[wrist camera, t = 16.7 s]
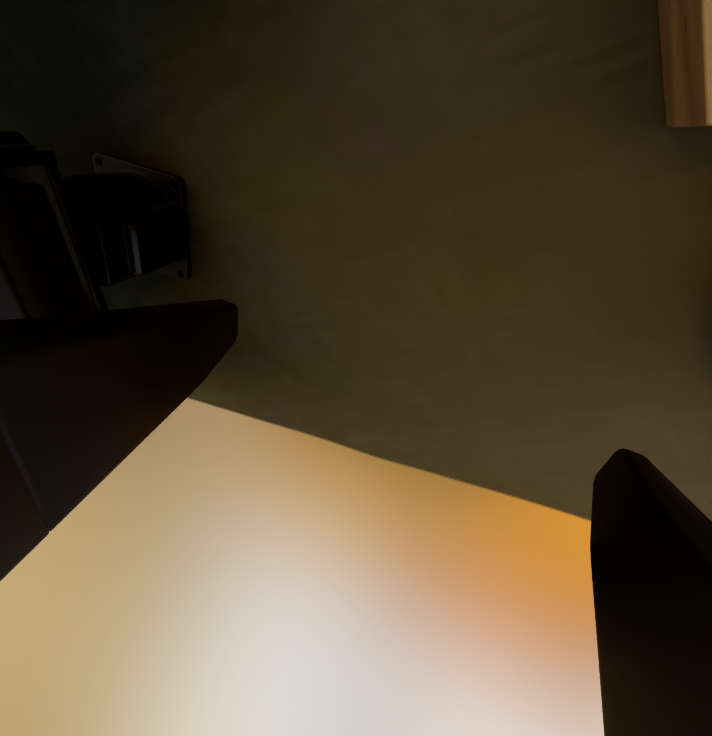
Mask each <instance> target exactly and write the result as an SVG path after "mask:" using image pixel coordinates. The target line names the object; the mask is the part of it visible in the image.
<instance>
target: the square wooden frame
mask: <svg viewBox="0 0 712 736" xmlns="http://www.w3.org/2000/svg"><path fill="white" fill-rule="evenodd" d="M657 3H658V17H659V30H660V43H661V57H662V70H663V83H664V97H665V110H666V123H667V127H668V128H671V127H702V126H711V125H712V0H657Z"/></svg>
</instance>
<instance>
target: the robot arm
mask: <svg viewBox="0 0 712 736" xmlns="http://www.w3.org/2000/svg"><path fill="white" fill-rule="evenodd" d="M56 163H58V161H57V158H56V155H55V152H54V150H37V149H36V147H35V145H31V144H30V143H29V142H28V141H27V140H26V139H25V138H24V137H23V136H22V135H21V134H20V133H19V132H0V581H1V580H2V579H3V578H4V577H5V576H6V575H7V574H8V573H9V572H10V571H11V570H12V569H13V568H14V567H15V566H16V565H17V564H18V563H19V562H20V561H21V560H22V559H23V558H24V557H25V556H26V555H27V554H28V553H29V552H30V551H32V550H33V549H34V547H36V546H37V545H38V544H39V543H40V542H41V541H42V540H43V539H44V538H45V537H46V536H47V535H48V534H49V531H51V530H52V529H54V528H55V526H56V525H58V524H59V523H60V522H61V521H62V520H63V519H64V518H65V517H66V516H67V515H68V514H69V513H70V512H71V511H72V510H73V509H74V508H75V507H76V506H77V505H78V504H79V503H80V502H81V501H82V500H83V499H84V498H85V497H86V496H87V495H88V494H89V493H90V492H91V491H92V490H93V489H94V488H95V487H96V486H97V485H98V484H99V483H100V482H102V481H103V480H104V479H105V478H106V477H107V476H108V475H109V474H110V473H111V472H112V471H113V469H115V468H116V467H117V466H118V465H119V464H120V463H121V462H122V461H123V460H124V459H125V458H126V457H127V456H128V455H129V454H130V453H131V452H132V451H133V450H134V449H135V448H136V447H137V446H138V445H139V444H140V443H141V442H142V441H143V440H144V439H145V438H146V437H147V436H148V435H149V434H150V433H151V432H152V431H154V430H155V429H156V428H157V427H158V426H159V424H161V423H162V422H163V421H164V420H165V419H166V418H167V417H168V416H169V415H170V414H171V413H172V412H173V411H174V410H175V409H176V408H177V407H178V406H179V405H180V404H181V403H182V402H183V401H184V400H185V399H186V398H187V397H188V396H189V395H190V394H191V393H192V392H193V391H194V390H195V389H196V388H197V387H198V386H199V385H200V384H201V383H202V382H203V381H204V379H205V378H206V377H207V376H208V375H209V373H210V372H211V371H212V370H213V369H214V367H215V366H216V365H217V364H218V362H219V361H220V360H221V359H222V357H223V356H224V355H225V354H226V353H227V351H228V350H229V349H230V348H231V346H232V345H233V344H234V342H235V341H236V338H237V334H238V309H237V306H236V305H235V304H233V303H230V302H227V301H225V300H221V299H218V300H208V301H198V302H188V303H177V304H167V305H157V306H146V307H136V308H126V309H115V310H109V309H108V307H107V304H106V301H105V298H104V296H103V293H102V290H101V287H102V286H107V287H108V286H111V285H114V284H116V283H119V282H122V281H124V280H127V279H130V278H132V277H135V276H141V275H144V274H147V273H149V272H152V271H157V272H159V273H162V274H165V275H167V276H170V277H173V278H176V279H178V280H181V281H184V280H187V279H189V278H190V277H191V265H190V248H189V232H188V216H187V199H186V186H185V182H184V180H183V179H182V178H181V177H179V176H177V175H174V174H171V173H167V172H164V171H161V170H158V169H154V168H151V167H148V166H145V165H141V164H138V163H135V162H132V161H128V160H125V159H122V158H118V157H115V156H112V155H109V154H105V153H95V154H94V155H93V164H94V169H95V174H86V175H75V176H65V177H61V175H60V173H59V170H58V167H57V164H56ZM175 182H176V184H177V187H176V185H175ZM182 272H183V273H184V274H183V273H182ZM590 541H591V542H590V552H591V568H592V581H593V594H594V607H595V620H596V633H597V646H598V659H599V672H600V684H601V697H602V709H603V723H604V736H712V522H711V521H710V520H709V519H708V518H707V517H706V516H705V515H704V514H703V513H702V512H701V511H700V510H699V509H698V508H697V507H696V506H695V505H694V504H693V503H692V502H691V501H690V500H689V499H688V498H687V497H686V496H685V495H684V494H683V493H682V492H681V491H680V490H679V489H678V488H677V487H676V486H675V485H674V484H673V483H672V482H670V481H669V480H668V479H667V478H666V477H665V476H664V475H663V474H662V473H661V472H660V471H659V470H658V469H657V468H656V467H655V466H654V465H653V464H652V463H651V462H650V461H649V460H648V459H647V458H646V457H645V456H643V455H641V454H638V453H636V452H633V451H630V450H627V449H624V448H623V449H619V450H617V451H616V452H615V453H614V454H613V455H612V456H611V457H610V459H609V460H608V461H607V462H606V463H605V465H604V466H603V467H602V468H601V469H600V470H599V472H598V473H597V474H596V476H595V479H594V483H593V499H592V518H591V539H590Z"/></svg>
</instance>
